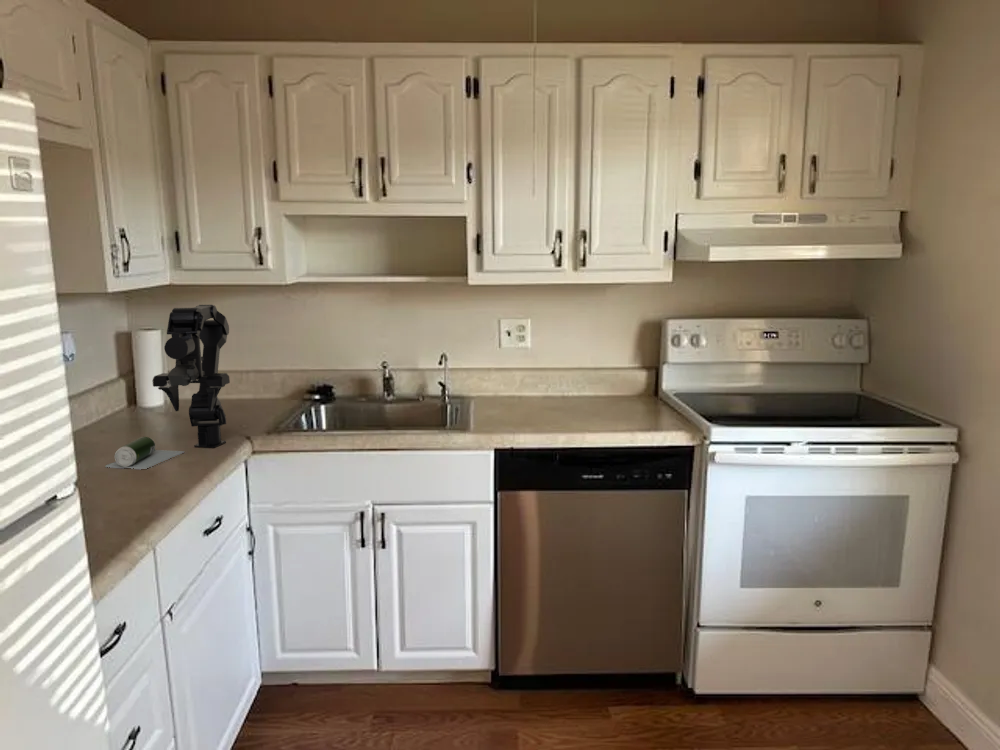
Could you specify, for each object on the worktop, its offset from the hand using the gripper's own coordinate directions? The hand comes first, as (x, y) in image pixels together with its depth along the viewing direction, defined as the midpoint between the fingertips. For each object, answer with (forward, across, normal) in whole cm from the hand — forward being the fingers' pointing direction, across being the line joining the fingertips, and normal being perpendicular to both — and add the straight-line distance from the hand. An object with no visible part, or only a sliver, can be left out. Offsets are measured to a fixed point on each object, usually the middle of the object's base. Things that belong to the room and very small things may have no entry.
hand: (193, 411), depth 189 cm
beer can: (+10, -14, +1) cm, 17 cm away
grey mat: (+13, -13, -3) cm, 18 cm away
